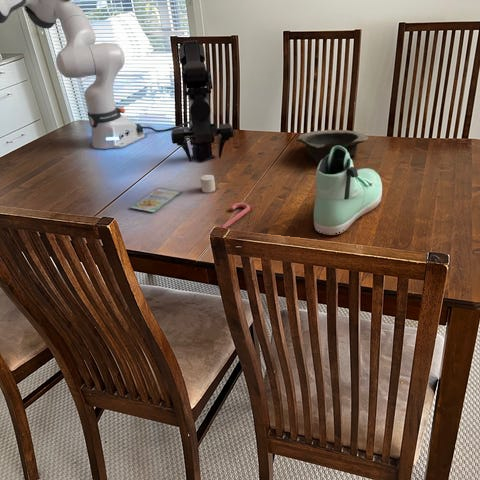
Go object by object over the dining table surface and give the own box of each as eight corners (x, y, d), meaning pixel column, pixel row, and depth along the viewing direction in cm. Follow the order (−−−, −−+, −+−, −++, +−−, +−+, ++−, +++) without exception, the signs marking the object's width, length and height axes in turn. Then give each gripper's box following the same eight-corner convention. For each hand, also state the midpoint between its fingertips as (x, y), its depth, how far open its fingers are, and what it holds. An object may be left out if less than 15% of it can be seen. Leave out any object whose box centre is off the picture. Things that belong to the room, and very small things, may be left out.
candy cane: (207, 226, 136) (206, 221, 135) (237, 204, 146) (237, 200, 145) (224, 231, 132) (223, 227, 132) (254, 208, 143) (253, 204, 142)
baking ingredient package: (130, 206, 148) (157, 187, 159) (130, 208, 148) (157, 189, 160) (153, 211, 144) (180, 191, 156) (153, 212, 145) (180, 192, 156)
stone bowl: (325, 174, 159) (324, 147, 155) (285, 157, 179) (283, 133, 175) (382, 156, 168) (383, 130, 164) (338, 142, 188) (338, 118, 184)
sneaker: (389, 187, 148) (396, 123, 138) (356, 242, 123) (361, 168, 112) (346, 181, 154) (350, 119, 144) (306, 232, 129) (307, 161, 118)
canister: (217, 190, 156) (216, 177, 153) (205, 193, 154) (203, 181, 152) (211, 185, 159) (210, 173, 157) (199, 189, 157) (198, 176, 155)
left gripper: (-72, 44, 148) (-55, 89, 156) (-4, 34, 159) (9, 77, 166) (-76, 43, 153) (-59, 87, 160) (-10, 33, 163) (4, 74, 170)
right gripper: (168, 122, 135) (175, 173, 144) (233, 115, 137) (237, 166, 145) (168, 111, 145) (175, 159, 153) (229, 104, 146) (233, 153, 154)
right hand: (205, 159), depth 151 cm, fingers open, 9 cm apart
